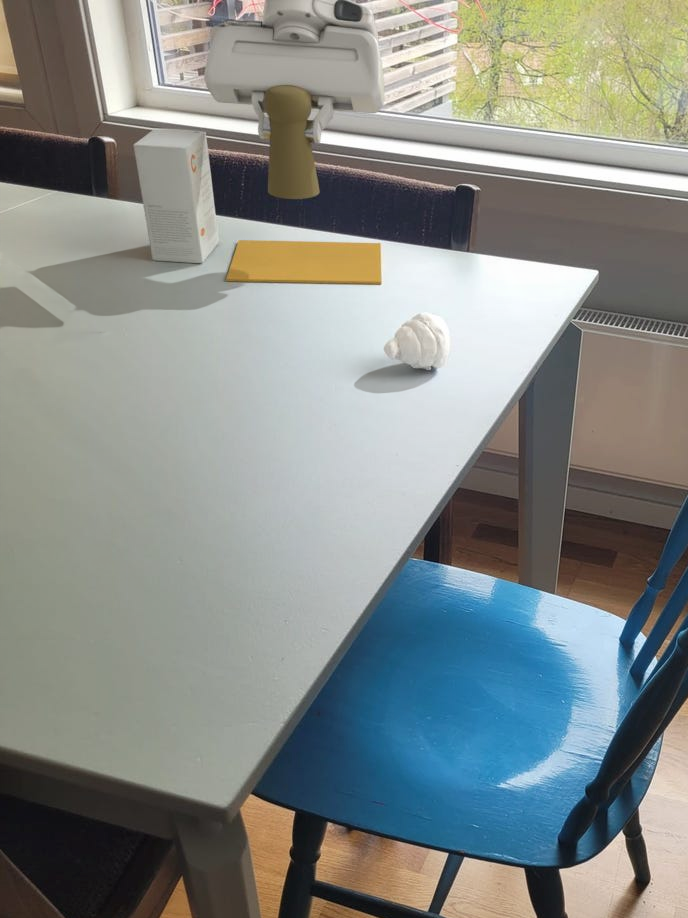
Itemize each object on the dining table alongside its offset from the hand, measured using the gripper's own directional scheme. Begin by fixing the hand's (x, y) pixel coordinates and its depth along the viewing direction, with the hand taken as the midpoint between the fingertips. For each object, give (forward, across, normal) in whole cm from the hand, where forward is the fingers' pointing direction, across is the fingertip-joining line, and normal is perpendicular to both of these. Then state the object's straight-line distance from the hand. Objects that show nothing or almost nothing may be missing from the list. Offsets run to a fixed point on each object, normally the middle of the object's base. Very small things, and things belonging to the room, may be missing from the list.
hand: (289, 138), depth 113 cm
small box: (+9, -14, +11) cm, 20 cm away
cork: (+4, 0, +5) cm, 6 cm away
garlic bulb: (+30, +18, -10) cm, 36 cm away
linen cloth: (+9, +1, +10) cm, 14 cm away
